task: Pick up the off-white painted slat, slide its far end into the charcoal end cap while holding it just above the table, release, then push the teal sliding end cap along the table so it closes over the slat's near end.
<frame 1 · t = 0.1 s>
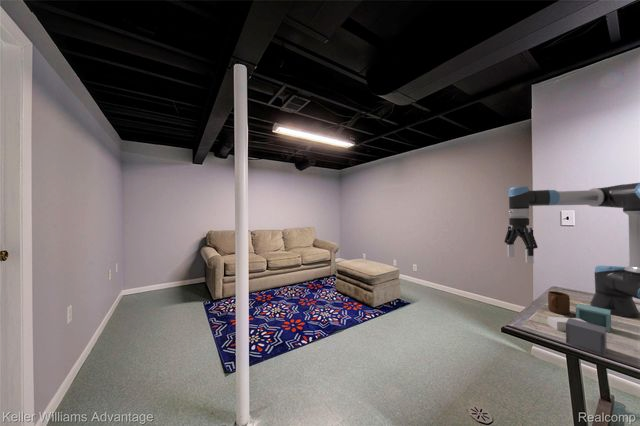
hand: (519, 259, 111), 28 cm above the table, fingers open, 13 cm apart
slat: (568, 329, 98), on the table
charcoal cap: (585, 345, 85), on the table
mug: (557, 313, 113), on the table
teal cap: (593, 316, 100), point 4 cm above the table, slide at 0.0 cm
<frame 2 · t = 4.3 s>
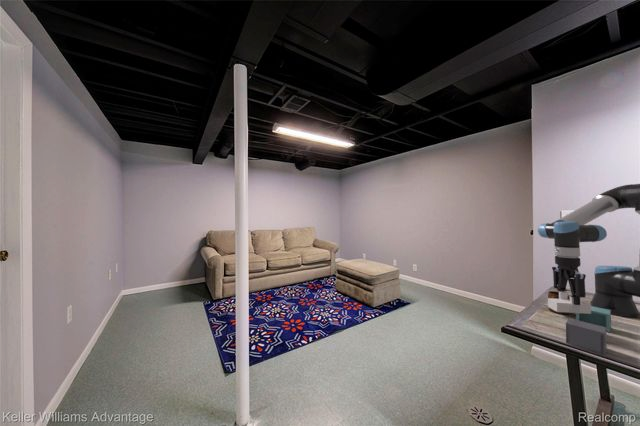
hand: (569, 308, 98), 9 cm above the table, fingers closed on slat, 5 cm apart
slat: (568, 310, 98), point 8 cm above the table, touching gripper
everything else where it was.
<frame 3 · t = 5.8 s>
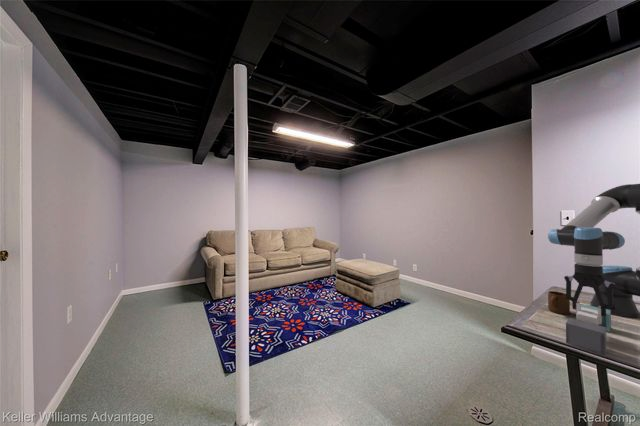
hand: (588, 320, 92), 6 cm above the table, fingers closed on slat, 5 cm apart
slat: (588, 321, 92), point 6 cm above the table, touching gripper
everything else where it was.
when the fingers open (2 cm above the table, at t = 7.8 s): slat drops 2 cm, on the table.
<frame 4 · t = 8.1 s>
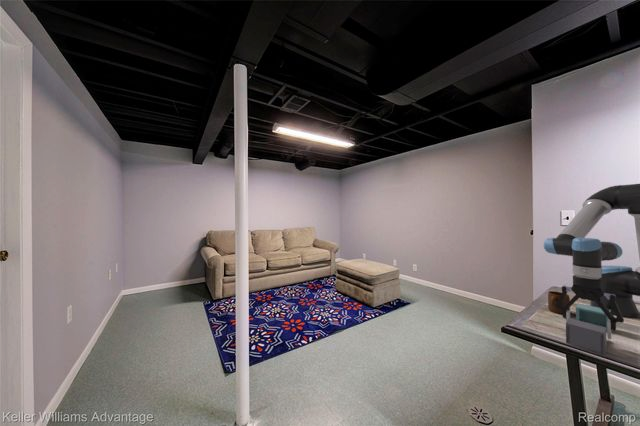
hand: (587, 331, 89), 3 cm above the table, fingers open, 10 cm apart
slat: (587, 340, 89), on the table
everything else where it was.
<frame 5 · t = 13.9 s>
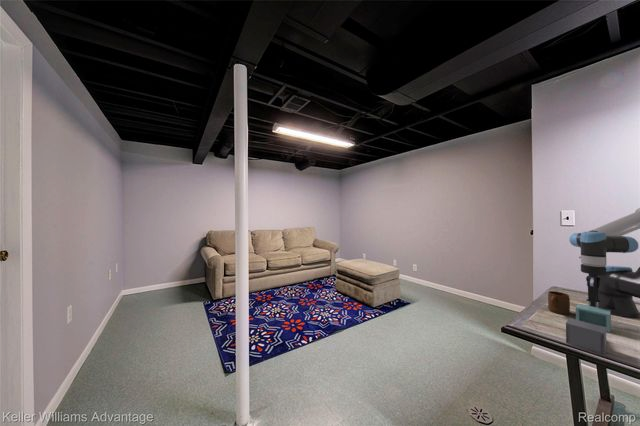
hand: (593, 315, 103), 3 cm above the table, fingers closed
teal cap: (593, 317, 99), point 4 cm above the table, slide at 0.4 cm, touching gripper
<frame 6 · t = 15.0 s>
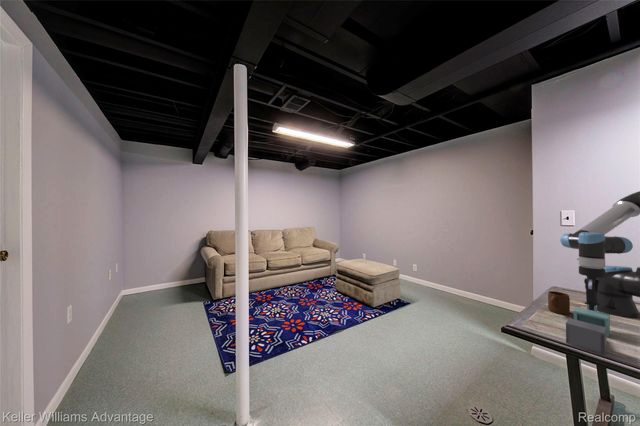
hand: (592, 319, 99), 3 cm above the table, fingers closed
teal cap: (591, 321, 96), point 4 cm above the table, slide at 6.6 cm, touching gripper
everything else where it was.
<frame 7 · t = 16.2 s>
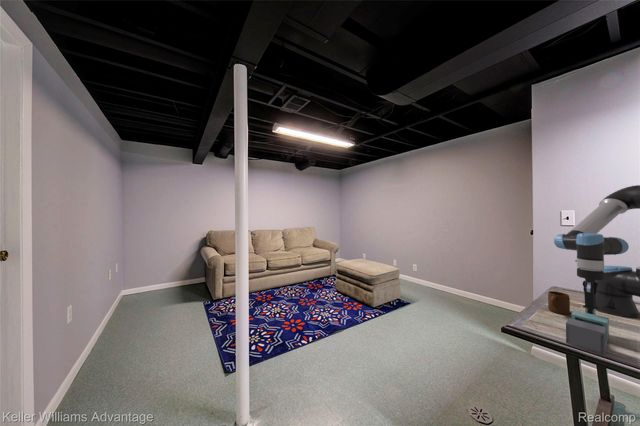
hand: (590, 323, 96), 3 cm above the table, fingers closed
slat: (587, 342, 88), on the table, touching charcoal cap, teal cap
teal cap: (589, 325, 93), point 4 cm above the table, slide at 12.3 cm, touching gripper, slat
everything else where it was.
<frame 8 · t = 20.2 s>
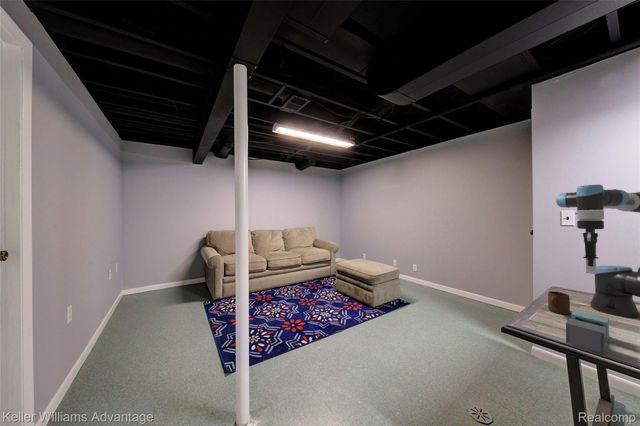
hand: (591, 273, 97), 24 cm above the table, fingers closed
slat: (587, 342, 88), on the table
teal cap: (589, 325, 93), point 4 cm above the table, slide at 12.2 cm
everything else where it was.
at the end: slat inside the target area (2.5 cm from its centre), on the table; teal cap slide at 12.2 cm; slat on the table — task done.
